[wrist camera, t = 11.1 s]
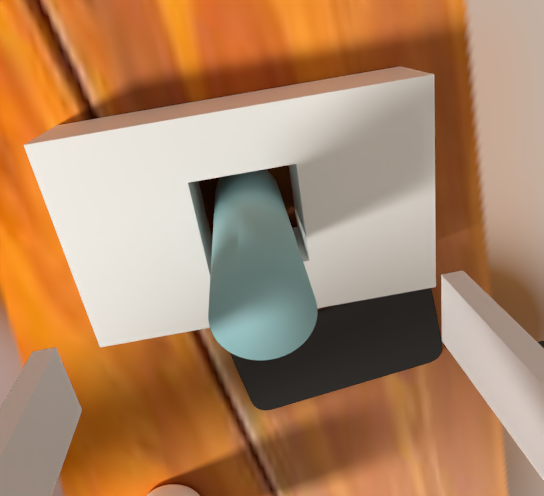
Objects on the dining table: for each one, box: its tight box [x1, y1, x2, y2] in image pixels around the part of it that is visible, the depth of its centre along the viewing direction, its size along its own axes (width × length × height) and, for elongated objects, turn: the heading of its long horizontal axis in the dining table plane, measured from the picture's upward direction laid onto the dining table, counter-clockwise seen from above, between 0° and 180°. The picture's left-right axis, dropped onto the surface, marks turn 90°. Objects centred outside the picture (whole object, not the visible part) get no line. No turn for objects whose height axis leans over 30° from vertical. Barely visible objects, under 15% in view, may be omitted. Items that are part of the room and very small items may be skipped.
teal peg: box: [208, 169, 318, 360], centre depth 24 cm, size 4×4×14 cm
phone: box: [231, 288, 442, 410], centre depth 36 cm, size 7×1×15 cm
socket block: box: [24, 66, 436, 347], centre depth 28 cm, size 20×12×5 cm, turn 99°
